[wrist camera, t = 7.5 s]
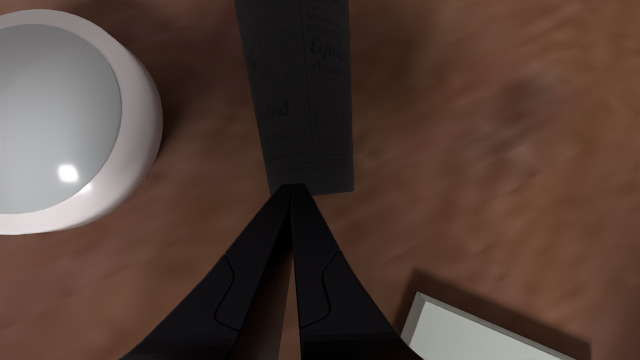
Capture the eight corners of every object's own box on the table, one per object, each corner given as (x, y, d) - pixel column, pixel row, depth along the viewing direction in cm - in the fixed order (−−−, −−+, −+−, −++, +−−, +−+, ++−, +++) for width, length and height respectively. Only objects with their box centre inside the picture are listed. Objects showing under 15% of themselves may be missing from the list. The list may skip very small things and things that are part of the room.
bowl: (225, 136, 18) (187, 108, 13) (100, 263, 17) (5, 288, 12) (112, 30, 19) (33, -36, 14) (-12, 146, 18) (-146, 121, 13)
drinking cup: (321, 195, 20) (296, -39, 22) (406, 185, 14) (364, -136, 16) (225, 205, 15) (200, -98, 17) (294, 196, 10) (246, -269, 11)
